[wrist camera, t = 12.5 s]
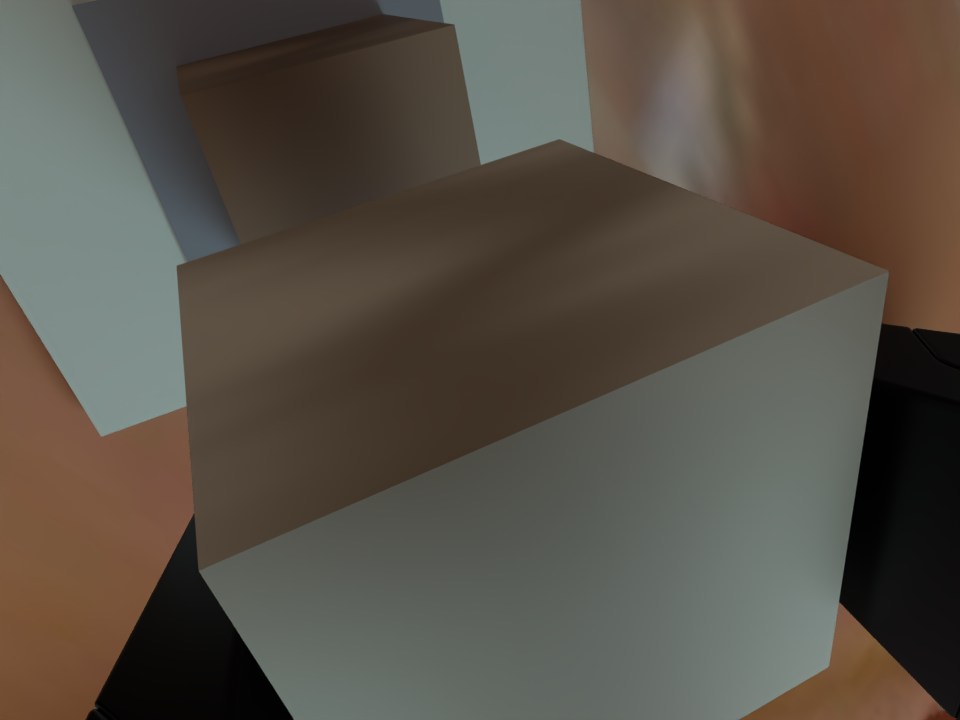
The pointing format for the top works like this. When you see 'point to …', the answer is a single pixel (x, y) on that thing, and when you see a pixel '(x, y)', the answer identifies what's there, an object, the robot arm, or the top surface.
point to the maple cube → (529, 447)
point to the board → (195, 158)
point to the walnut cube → (330, 119)
